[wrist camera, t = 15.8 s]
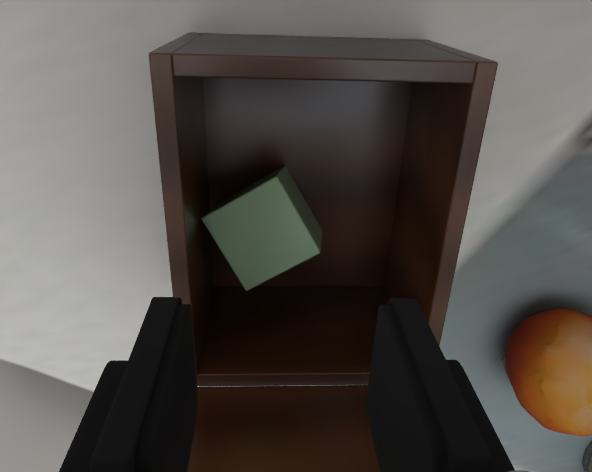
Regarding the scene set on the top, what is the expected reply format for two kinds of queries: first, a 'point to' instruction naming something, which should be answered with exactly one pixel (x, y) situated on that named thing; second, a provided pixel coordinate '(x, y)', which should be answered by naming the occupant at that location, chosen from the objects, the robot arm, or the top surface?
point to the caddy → (316, 190)
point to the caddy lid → (283, 430)
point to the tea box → (265, 229)
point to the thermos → (588, 459)
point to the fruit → (553, 369)
